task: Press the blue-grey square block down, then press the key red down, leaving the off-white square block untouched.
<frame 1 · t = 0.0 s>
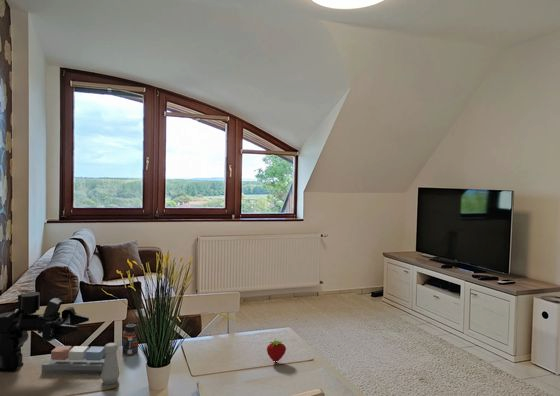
hand: (83, 323, 152), 17 cm above the table, tool horizontal, fingers open, 9 cm apart
key red: (61, 352, 154), point 5 cm above the table, slide at 0.0 cm
off-white square block: (78, 353, 154), point 5 cm above the table, slide at 0.0 cm
supplement bottle: (130, 354, 167), on the table
salt shaker: (110, 382, 144), on the table
blue-grey square block: (95, 353, 154), point 5 cm above the table, slide at 0.0 cm
strawberry: (275, 363, 165), on the table
panel: (78, 366, 154), on the table
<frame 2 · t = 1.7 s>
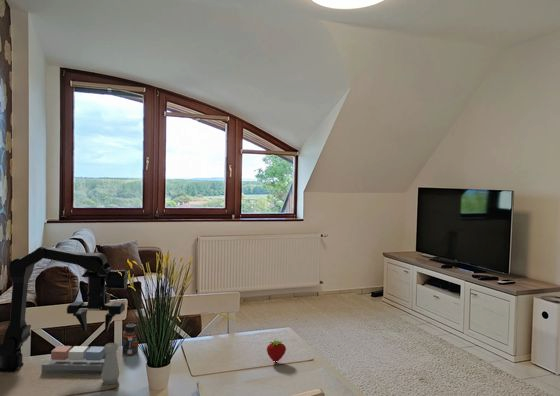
hand: (96, 331, 154), 13 cm above the table, tool pointing down, fingers open, 7 cm apart
nothing on the table moved.
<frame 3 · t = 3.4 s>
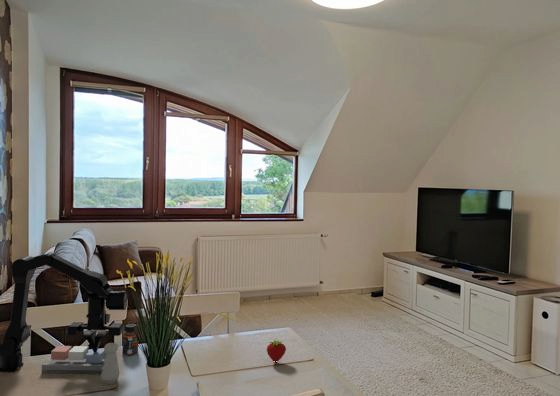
hand: (95, 352, 154), 5 cm above the table, tool pointing down, fingers closed, pressing on blue-grey square block
blue-grey square block: (95, 356, 154), point 4 cm above the table, slide at 1.0 cm, touching gripper
everything else where it was.
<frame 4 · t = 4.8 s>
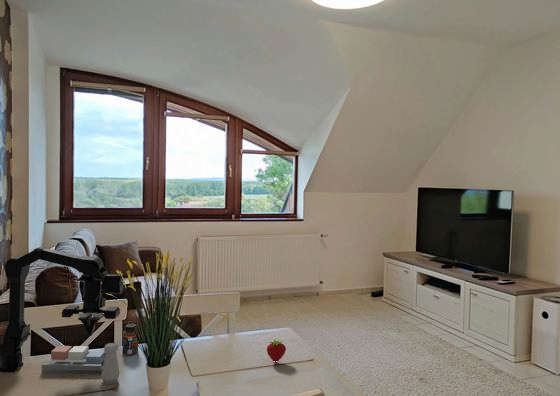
hand: (90, 335, 154), 12 cm above the table, tool pointing down, fingers closed
blue-grey square block: (95, 357, 154), point 3 cm above the table, slide at 1.6 cm
everything else where it was.
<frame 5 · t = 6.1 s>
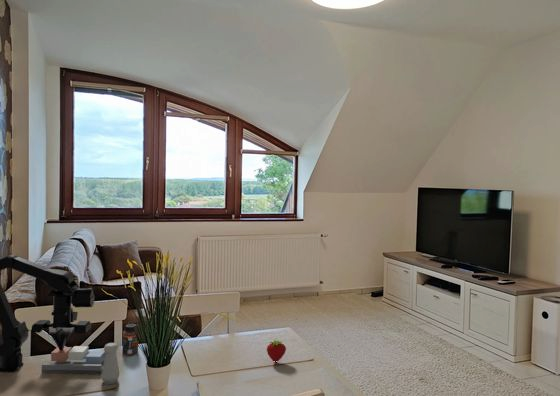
hand: (61, 349, 154), 6 cm above the table, tool pointing down, fingers closed, pressing on key red
key red: (61, 353, 154), point 5 cm above the table, slide at 0.5 cm, touching gripper
everything else where it was.
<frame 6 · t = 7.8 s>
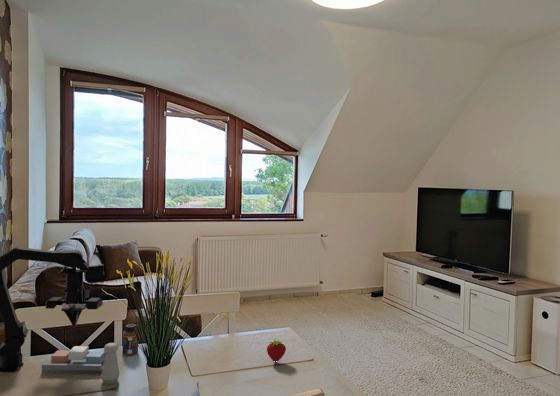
hand: (74, 325, 159), 13 cm above the table, tool pointing down, fingers closed
key red: (61, 357, 154), point 3 cm above the table, slide at 1.6 cm
everything else where it was.
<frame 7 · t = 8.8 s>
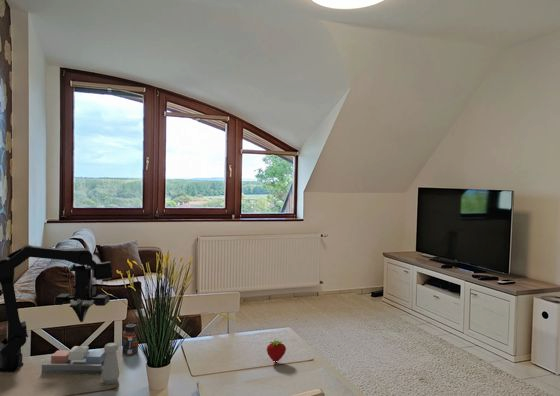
hand: (81, 321, 163), 13 cm above the table, tool pointing down, fingers closed
nothing on the table moved.
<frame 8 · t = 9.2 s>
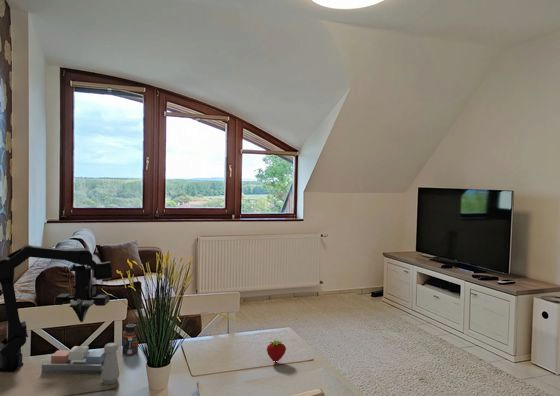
hand: (81, 321, 163), 13 cm above the table, tool pointing down, fingers closed
nothing on the table moved.
at the end: blue-grey square block slide at 1.6 cm; key red slide at 1.6 cm; off-white square block slide at 0.0 cm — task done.
